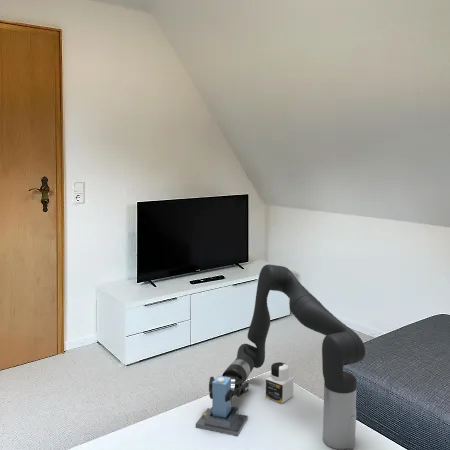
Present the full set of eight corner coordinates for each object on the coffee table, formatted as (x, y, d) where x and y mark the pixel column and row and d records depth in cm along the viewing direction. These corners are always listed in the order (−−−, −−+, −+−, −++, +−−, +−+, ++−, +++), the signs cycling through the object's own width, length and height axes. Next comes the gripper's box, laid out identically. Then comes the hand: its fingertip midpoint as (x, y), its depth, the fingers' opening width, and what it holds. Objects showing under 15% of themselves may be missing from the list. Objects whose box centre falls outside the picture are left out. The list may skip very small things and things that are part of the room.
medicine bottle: (265, 397, 168) (265, 365, 167) (276, 390, 174) (277, 358, 172) (282, 404, 164) (282, 370, 162) (293, 396, 169) (294, 364, 168)
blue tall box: (231, 409, 153) (231, 375, 151) (225, 417, 148) (225, 382, 147) (218, 407, 155) (218, 373, 153) (212, 415, 150) (212, 379, 148)
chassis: (247, 419, 154) (247, 408, 154) (237, 435, 145) (237, 424, 144) (207, 411, 159) (207, 401, 158) (195, 427, 150) (195, 416, 149)
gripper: (217, 360, 166) (197, 382, 150) (256, 366, 161) (240, 390, 145) (217, 381, 167) (197, 404, 151) (256, 387, 162) (240, 413, 146)
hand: (218, 397), depth 148 cm, fingers closed on blue tall box, 4 cm apart
